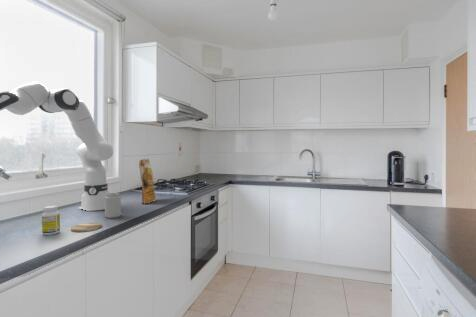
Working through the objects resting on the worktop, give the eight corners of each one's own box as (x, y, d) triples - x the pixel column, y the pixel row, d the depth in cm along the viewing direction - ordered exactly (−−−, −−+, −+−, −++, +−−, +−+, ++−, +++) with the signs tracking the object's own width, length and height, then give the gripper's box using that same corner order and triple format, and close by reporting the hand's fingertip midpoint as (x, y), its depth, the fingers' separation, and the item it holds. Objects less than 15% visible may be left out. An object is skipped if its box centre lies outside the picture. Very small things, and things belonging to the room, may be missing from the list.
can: (118, 218, 138) (118, 194, 138) (102, 219, 137) (102, 195, 137) (122, 214, 146) (122, 192, 145) (107, 215, 144) (106, 192, 144)
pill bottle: (52, 230, 119) (51, 204, 118) (63, 231, 117) (63, 205, 116) (38, 234, 113) (37, 207, 112) (50, 236, 111) (49, 208, 110)
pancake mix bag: (136, 205, 171) (135, 159, 170) (149, 199, 190) (148, 158, 189) (146, 205, 170) (145, 159, 169) (158, 199, 189) (158, 158, 188)
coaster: (77, 225, 127) (77, 223, 126) (105, 223, 129) (105, 221, 129) (66, 232, 115) (66, 231, 115) (97, 231, 117) (97, 229, 117)
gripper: (-37, 145, 99) (1, 166, 102) (-13, 156, 117) (19, 173, 120) (-52, 159, 96) (-12, 181, 100) (-25, 168, 115) (8, 186, 118)
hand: (5, 177), depth 110 cm, fingers open, 8 cm apart
